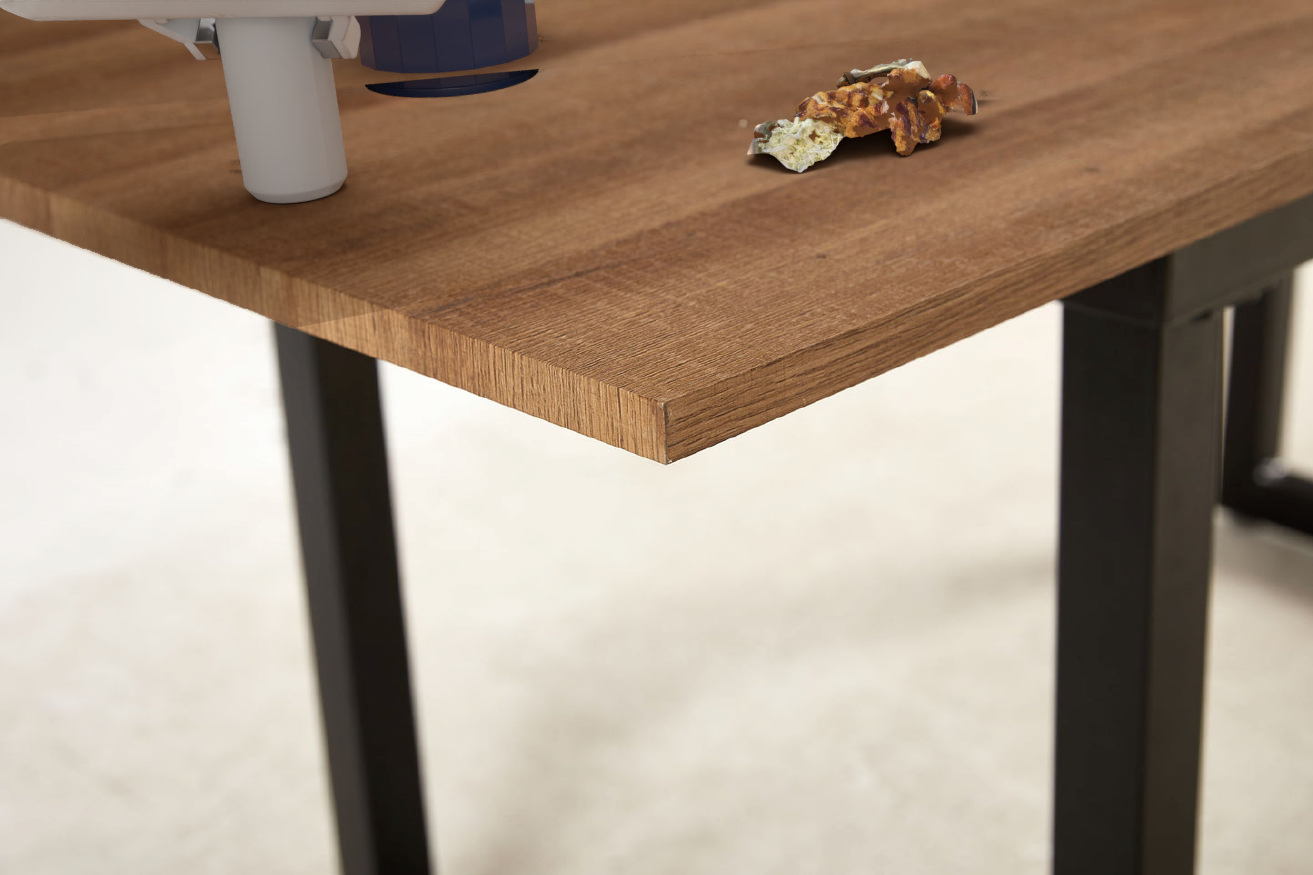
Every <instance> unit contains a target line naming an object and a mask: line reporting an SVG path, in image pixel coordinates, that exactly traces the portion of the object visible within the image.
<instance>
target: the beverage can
mask: <svg viewBox="0 0 1313 875" xmlns="http://www.w3.org/2000/svg"><path fill="white" fill-rule="evenodd" d="M315 18H316V16H309V17H250V18H214V19H215V25H216V30H217V36H218V41H219V47H220V53H221V58H222V60H221V63H222V64H221V65H222V70H223V74H224V79H225V80H224V81H225V86H226V92H227V98H228V102H229V108H230V113H231V120H232V125H233V132H234V138H235V142H236V148H237V154H238V159H239V164H240V171H241V176H242V182H243V187H244V189H246V191H247V192H249V193H250V195H252V196H253V197H254V198H255V199H257V201H262V202H264V203H269V204H296V203H304V202H310V201H315V200H319V199H322V198H325V197H328V196H330V195H332V194H335V193H336V192H337V191H339V190H340V189H341V188H342V186H343V184H344V182H345V180H346V179H347V177H348V175H349V172H348V164H347V158H346V150H345V144H344V138H343V130H342V124H341V117H340V111H339V110H340V109H339V103H338V96H337V89H336V84H335V76H334V69H333V62H332V59H325V58H322V56H321V55H320V54H321V51H319V50H317V49H316V48H315V46H314V45H313V43H312V42H311V39H312V33H313V28H314V27H315V26H316V25H317V24H318V23H317V22H316V20H315Z"/></svg>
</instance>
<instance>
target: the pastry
mask: <svg viewBox="0 0 1313 875" xmlns="http://www.w3.org/2000/svg"><path fill="white" fill-rule="evenodd" d="M913 59H914V58H912V57H911V58H909V60H908V61H909V62H907V59H906V58H905V59H904V58H902V59H900V58H899V59H897V61H892V62H890V63H886V64H885V63H880V64H877V65H875V66H873V67H872V68H870V69H866V70H864V71H862V70H860V69H858V68H854V69H852V70H851V71H845V72H843V76H841V77H840V78H839V79H838V80H837V82H836V83H835V87H836V88H837V89H835V90H834V89H833V90H827V91H818V92H816V93H815V94H814V95H812V96H811V97H809V96H807V97H806V98H804V99H803V100H802V101H801V102H800V103H799V104H797V106H796V109H795V115H794V116H793V117H792V118H791V119H790V120H788V119H787V118H784V119H778V120H776V122H775V121H774V120H767V121H764V122H763V123H760V124H757V125H755V127H754V128H753V139H752V140H751V143H750V146H749V148H748V150H747V152H746V153H747V154H746V155H747V156H749V155H756V154H768V155H771V156H773V157H775V158H776V159H777V160H778V161H779V162H780V163H781V164H782V165H783V166H784V167H785V168H786V169H789V170H793V171H795V172H798V173H802V172H803V171H805V170H807V169H808V167H809V166H813V165H814V164H815V162H818V161H824V160H825V159H827V158H828V157H829V156H831V155H832V153H833V151H834V150H836V149H837V146H838V145H839V143H840V142H841V141H842V140H843V138H845V137H848V138H849V139H853V138H859V137H861V138H864V136H867V135H872V134H874V133H877V132H880V131H883V130H888V129H890V132H892V133H891V139H892V141H893V142H894V145H895V146H896V153H898V154H900V155H901V156H905V157H908V156H909V155H912V153H913V151H914V150H915V147H916V146H917V144H918V143H920V144H924V143H925V144H929V142H931V141H933V142H935V141H937V140H940V138H941V136H942V134H943V133H942V131H941V130H942V128H943V125H942V124H941V122H942V119H943V118H945V116H946V115H947V113H948V114H949V113H950V111H952V110H954V108H960V109H961V111H962V112H963V113H965V115H966V116H967V117H969V116H975V115H976V114H977V113H978V110H979V109H978V108H979V107H978V106H979V105H978V101H977V98H976V95H975V93H974V90H973V89H972V88H971V87H970V86H969V85H967V84H966V83H964V82H961V81H960V80H959V79H958V78H957V77H956V76H955V75H953V74H951V73H943V74H941V75H939V76H938V77H937V78H936V79H935V80H933V79H932V76H931V74H929V72H928V70H927V69H926V67H925V65H924V63H923V62H922V61H921V60H914V61H913ZM877 78H887V80H886V82H877V83H876V82H873V83H870V82H872V81H873V80H874V79H877Z"/></svg>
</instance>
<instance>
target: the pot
mask: <svg viewBox="0 0 1313 875" xmlns="http://www.w3.org/2000/svg"><path fill="white" fill-rule="evenodd" d="M354 17H355V18H356V20H357V22H358V23H359V25H360V31H361V37H360V42H359V48H358V51H359V56H360V64H361V65H362V66H363V67H367V68H369V69H372V70H375V71H379V72H387V73H388V72H389V73H396V74H441V73H442V74H443V73H451V72H452V73H453V72H462V71H470V70H478V69H484V68H488V67H493V66H499V65H504V64H508V63H512V62H514V61H517V60H520V59H522V58H525V57H528V56H530V55H531V54H533V53H534V52H535V51H536V50H538V48H539V38H538V36H539V35H538V28H537V27H538V26H537V15H536V3H535V0H446V1H445V2H444V4H443V5H442V6H441V8H440V9H439V10H438V11H437V12H435V13H432V14H427V15H368V16H354ZM539 71H540V68H532V69H522V70H520V69H519V70H511V71H498V72H485V73H478V74H477V73H476V74H464V75H454V76H444V77H435V78H434V77H432V78H421V79H411V80H399V81H389V82H388V81H387V82H378V83H366V84H365V83H364V87H365V88H366V89H367V90H369V91H370V92H373V93H375V94H380V95H384V96H390V97H397V98H398V97H399V98H410V99H411V98H413V99H414V98H415V99H416V98H417V99H420V98H421V99H427V98H431V99H432V98H449V97H460V96H462V97H463V96H470V95H475V94H483V93H488V92H489V93H490V92H494V91H497V90H502V89H506V88H510V87H513V86H516V85H519V84H522V83H525V82H526V81H529V80H531V79H533V78H534V77H535V76H536V75H537V74H538V73H539Z"/></svg>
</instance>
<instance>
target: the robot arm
mask: <svg viewBox="0 0 1313 875" xmlns="http://www.w3.org/2000/svg"><path fill="white" fill-rule="evenodd" d="M445 1H446V0H0V9H3V10H4V11H6V12H8V13H11V14H14V15H15V16H18V17H21V18H24V19H26V20H29V21H32V22H56V21H57V22H61V21H62V22H64V21H65V22H67V21H68V22H69V21H70V22H71V21H72V22H73V21H122V20H123V21H124V20H125V21H126V20H128V21H129V20H130V21H131V20H137V22H138V23H139V24H140V25H141V26H143V27H145V28H147V29H149V30H151V31H154V32H156V33H158V34H160V35H163V36H165V37H166V38H169V39H171V40H173V41H176V42H177V43H182V44H183V45H184V46H185V47H186V49H187V50H188V52H190V53H191V55H192V56H193V57H194V59H195V60H197V61H219V60H221V61H222V58H221V53H220V47H219V41H218V36H217V30H216V25H215V19H214V18H250V17H309V16H316V18H315V20H316V22H317V23H318V24H317V25H316V26H315V27H314V28H313V33H312V39H311V42H312V43H313V45H314V46H315V48H316V49H317V50H319V51H321V54H320V55H321V56H322V58H325V59H331V60H332V59H333V60H334V59H335V60H336V59H337V60H354V59H356V58H357V56H358V52H359V42H360V37H361V31H360V25H359V23H358V22H357V20H356V18H355V16H368V15H427V14H432V13H435V12H437V11H438V10H439V9H440V8H441V6H442V5H443V4H444V2H445Z"/></svg>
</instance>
